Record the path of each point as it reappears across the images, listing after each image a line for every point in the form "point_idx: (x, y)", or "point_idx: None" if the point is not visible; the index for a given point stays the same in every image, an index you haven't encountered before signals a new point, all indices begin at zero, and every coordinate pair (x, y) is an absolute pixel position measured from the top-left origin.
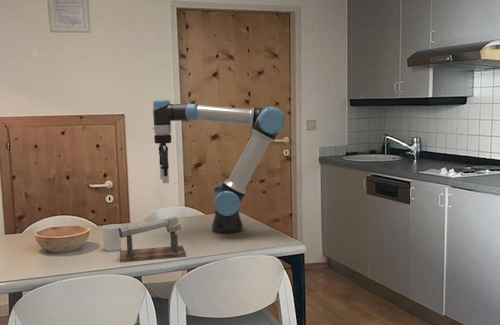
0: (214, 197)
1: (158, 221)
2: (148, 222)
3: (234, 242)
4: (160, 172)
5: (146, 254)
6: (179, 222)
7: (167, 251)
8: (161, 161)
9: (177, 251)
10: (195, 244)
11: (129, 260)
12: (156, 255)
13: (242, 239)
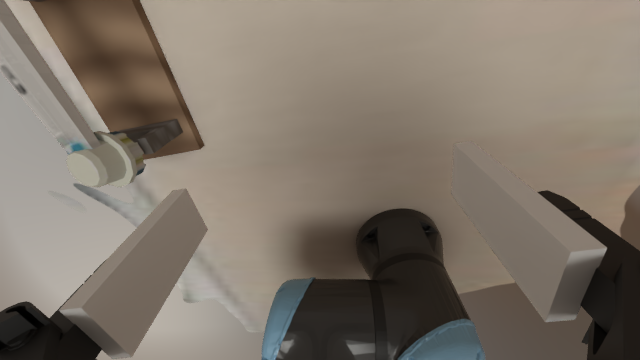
0: (372, 305)
1: (37, 116)
2: (9, 71)
3: (270, 250)
4: (492, 182)
5: (79, 50)
6: (124, 182)
7: (130, 113)
8: (612, 357)
9: None
10: (252, 174)
11: None
12: (81, 85)
13: (296, 264)
